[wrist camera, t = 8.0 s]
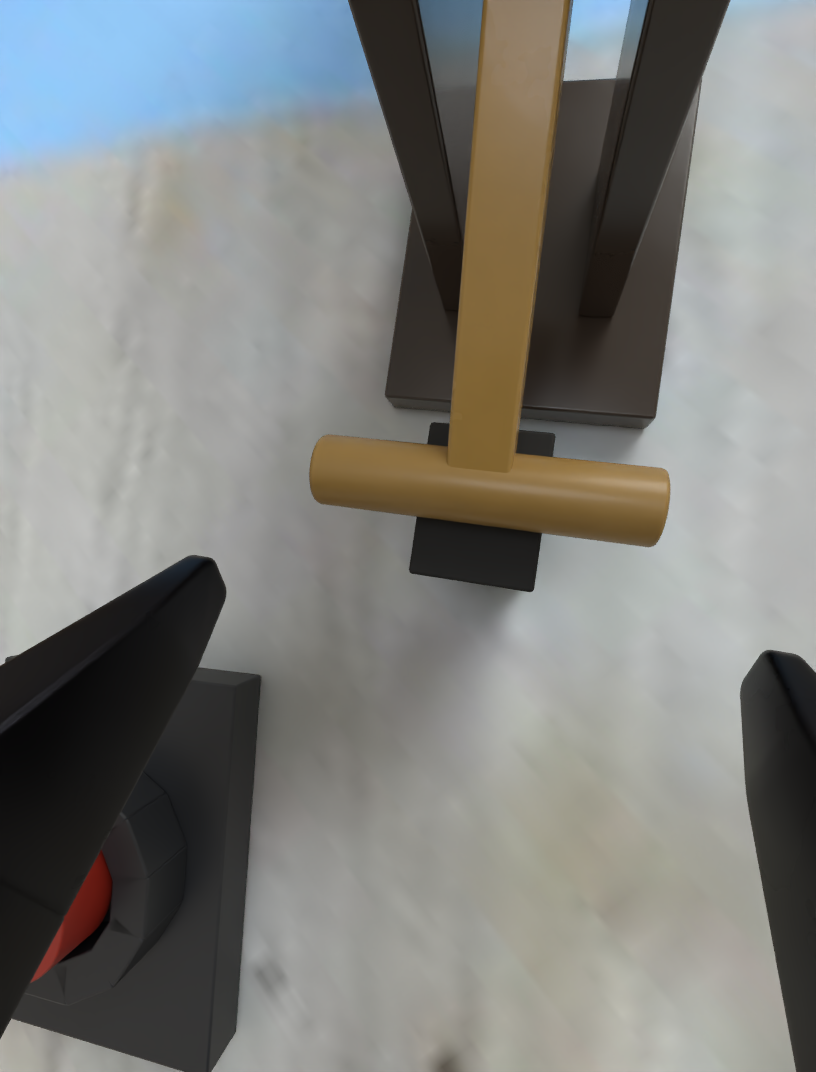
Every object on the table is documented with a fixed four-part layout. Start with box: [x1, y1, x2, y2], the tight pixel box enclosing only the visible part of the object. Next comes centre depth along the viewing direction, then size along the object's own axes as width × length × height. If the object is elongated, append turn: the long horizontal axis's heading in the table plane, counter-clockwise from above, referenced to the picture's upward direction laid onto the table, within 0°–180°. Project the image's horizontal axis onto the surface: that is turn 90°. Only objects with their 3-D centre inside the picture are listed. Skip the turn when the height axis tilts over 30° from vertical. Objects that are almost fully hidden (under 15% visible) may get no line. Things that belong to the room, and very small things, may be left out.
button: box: [30, 850, 112, 983], centre depth 15 cm, size 4×4×2 cm
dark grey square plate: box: [5, 655, 261, 1072], centre depth 17 cm, size 12×9×4 cm
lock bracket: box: [348, 0, 730, 428], centre depth 11 cm, size 10×8×13 cm
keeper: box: [409, 422, 555, 592], centre depth 13 cm, size 3×2×7 cm
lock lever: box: [309, 0, 670, 547], centre depth 8 cm, size 11×6×2 cm, turn 172°
